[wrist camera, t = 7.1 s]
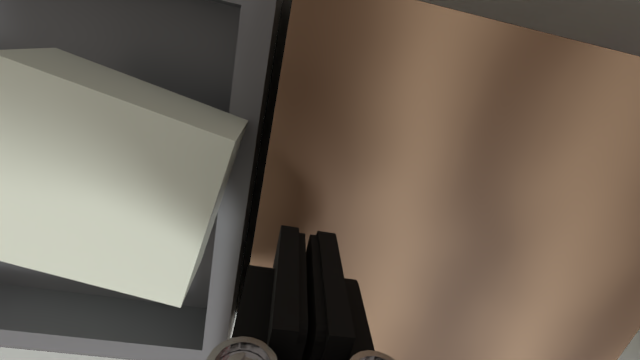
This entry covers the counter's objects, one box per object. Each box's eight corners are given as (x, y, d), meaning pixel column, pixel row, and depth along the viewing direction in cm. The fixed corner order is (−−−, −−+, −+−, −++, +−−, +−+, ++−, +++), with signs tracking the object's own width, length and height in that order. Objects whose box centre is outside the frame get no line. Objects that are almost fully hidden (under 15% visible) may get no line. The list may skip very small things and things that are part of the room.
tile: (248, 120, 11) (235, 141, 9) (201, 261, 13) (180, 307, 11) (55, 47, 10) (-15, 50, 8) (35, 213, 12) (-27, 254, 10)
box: (284, -12, 13) (280, -25, 10) (234, 319, 18) (222, 368, 16) (-154, -119, 11) (-309, -172, 8) (-57, 285, 17) (-128, 334, 14)
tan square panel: (663, 81, 15) (805, 98, 11) (511, 351, 21) (565, 431, 16) (297, -8, 13) (296, -31, 9) (243, 320, 19) (227, 401, 14)
